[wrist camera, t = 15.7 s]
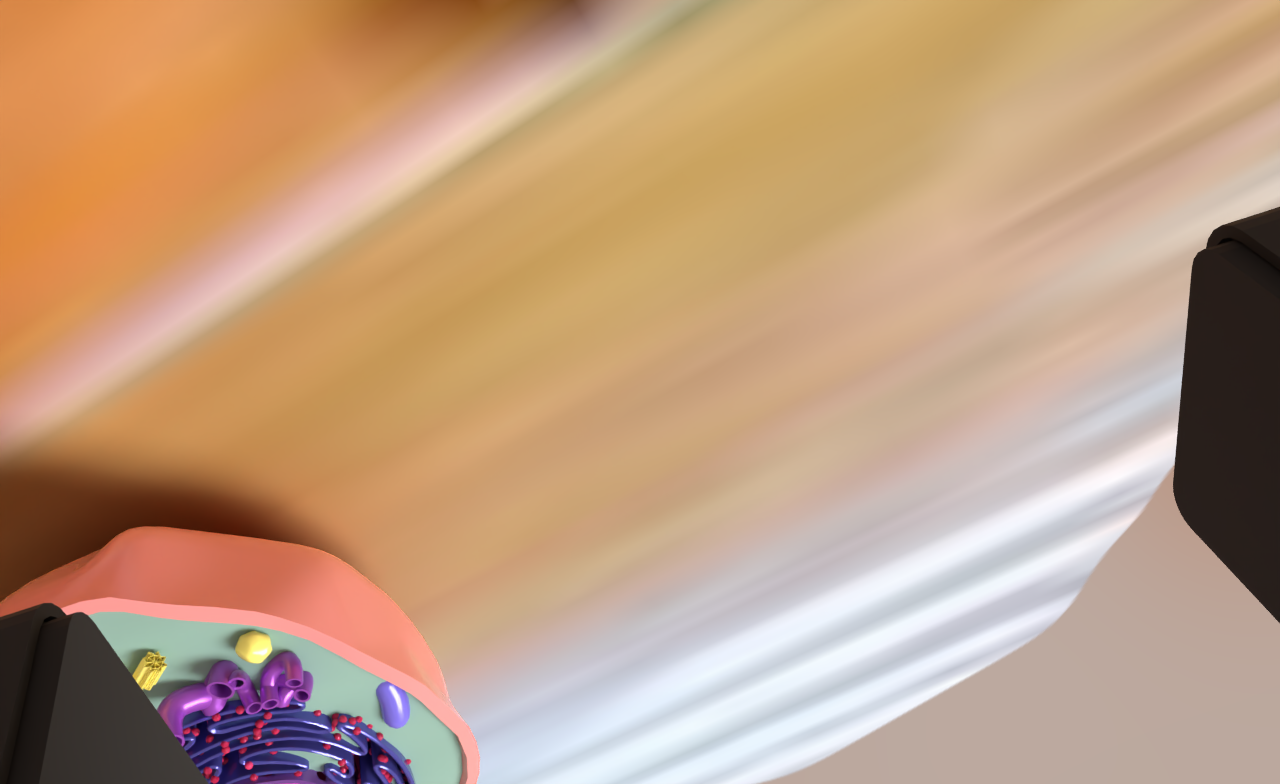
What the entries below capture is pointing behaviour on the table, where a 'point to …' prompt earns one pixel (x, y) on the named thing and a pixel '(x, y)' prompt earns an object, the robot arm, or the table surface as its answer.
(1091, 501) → the table surface
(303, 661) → the cell model
